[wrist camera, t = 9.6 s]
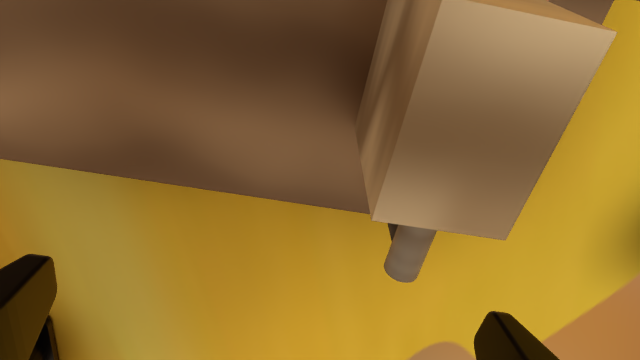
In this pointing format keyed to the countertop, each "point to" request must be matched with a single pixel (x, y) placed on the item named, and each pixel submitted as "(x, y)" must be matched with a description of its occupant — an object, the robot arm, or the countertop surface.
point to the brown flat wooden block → (197, 91)
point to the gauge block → (467, 114)
